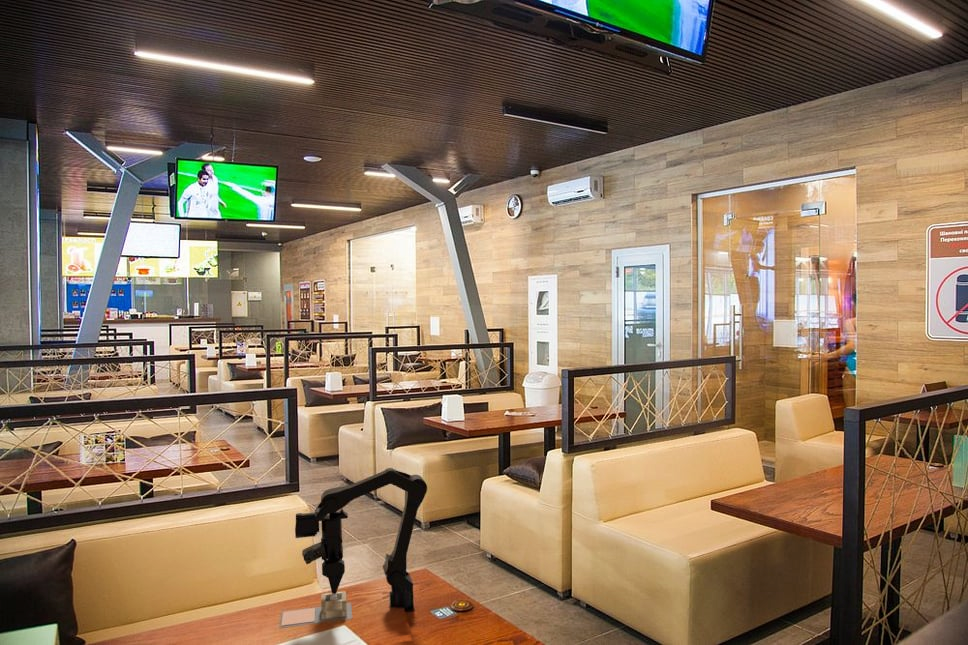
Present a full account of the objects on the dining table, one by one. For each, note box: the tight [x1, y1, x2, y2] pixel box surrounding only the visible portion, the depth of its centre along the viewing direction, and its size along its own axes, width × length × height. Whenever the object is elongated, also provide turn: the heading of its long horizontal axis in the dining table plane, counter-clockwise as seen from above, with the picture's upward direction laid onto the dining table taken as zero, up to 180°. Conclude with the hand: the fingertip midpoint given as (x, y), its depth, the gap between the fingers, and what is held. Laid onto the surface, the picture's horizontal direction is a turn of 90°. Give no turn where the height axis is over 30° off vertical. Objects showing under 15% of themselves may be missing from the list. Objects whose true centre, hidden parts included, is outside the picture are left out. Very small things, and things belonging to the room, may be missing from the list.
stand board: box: [279, 595, 353, 629], centre depth 193 cm, size 20×11×6 cm, turn 104°
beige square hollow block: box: [320, 590, 347, 619], centre depth 194 cm, size 7×7×4 cm
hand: (333, 587), depth 194 cm, fingers open, 9 cm apart
